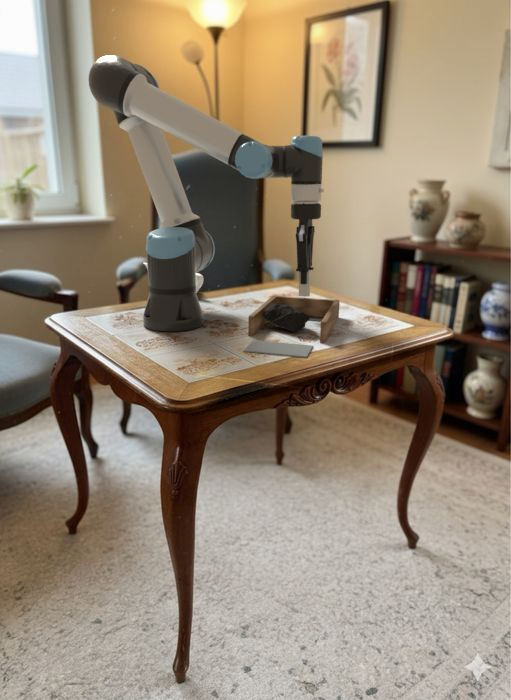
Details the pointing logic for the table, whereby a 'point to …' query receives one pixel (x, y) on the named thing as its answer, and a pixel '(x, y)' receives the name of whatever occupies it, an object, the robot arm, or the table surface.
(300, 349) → the mat
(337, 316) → the open wooden frame
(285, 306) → the rock
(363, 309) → the table surface
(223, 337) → the table surface
